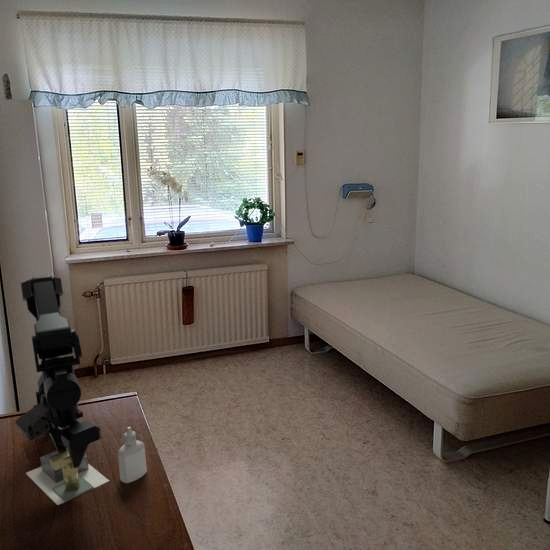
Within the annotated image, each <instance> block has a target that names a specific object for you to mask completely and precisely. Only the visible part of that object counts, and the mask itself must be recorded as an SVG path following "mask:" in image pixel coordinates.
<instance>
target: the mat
mask: <svg viewBox="0 0 550 550" xmlns="http://www.w3.org/2000/svg"><path fill="white" fill-rule="evenodd" d="M79 483H80V486H79V488H78V489H76V490H74V491H66V490H65V484H64V483H62V484H59V485H57V486H55V487H53V488H52V489H53V490H54V491H55V492H56V493H57V494H58V495H59V496H60V497H61V498H62V499H63V500H64V501H66V502H68V501H70V500H72V499H74V498H76V496H77V497H79V496H81V495H83V494H86V493H88V492H90V491H91V490H94V489H95V488H94V487H93V486H92V485H91V484H90V483H89V482H87V481H86V480H85V479H84V478H83V477H82V476H79ZM93 488H94V489H93ZM82 493H83V494H82ZM80 494H81V495H80ZM78 495H79V496H78Z"/></svg>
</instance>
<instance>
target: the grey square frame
mask: <svg viewBox="0 0 550 550" xmlns="http://www.w3.org/2000/svg"><path fill="white" fill-rule="evenodd" d="M67 450H68V448H67V449H66V451H67ZM56 455H59V454H58V451H57V450H55V451H52V452H50V453H48V454H44V455H42V456H41V457H39V459H40V467H41V468H42V471H43V472H44V473H46V474H47V475H48V476H49V477H50V478H51V479H52V480H53V481H54V482H55V483H58V482H60V481H62V480H64V478H63V471H62V468H60V469H58V470H56V471H55V470H54V469H53V468H52V467H51V464H50V458H52V457H54V456H56ZM88 464H89V461H88V455H86V457H84V458H83V459H82V462H81V464H80V466H79V467H77V470H78V473H81V472H83V471H85V470H87V469H89V467H88Z"/></svg>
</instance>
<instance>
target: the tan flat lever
mask: <svg viewBox="0 0 550 550" xmlns="http://www.w3.org/2000/svg"><path fill="white" fill-rule="evenodd" d="M86 456H87V453H86V451H85V454H84V457H86ZM84 457H83V458H84ZM50 464H51V467H52V468H53V469H54V470H55V471H56V470H58V469H60V468H62V471H63V478H64V484H65V490H66V491H74V490H76V489H78V488H79V486H80V483H79V476H78V470H77V468H74V467H73V464H72V462H71V458H70V455H69V451H68V450H67V451H65V452H63V453H61V454H59V455H56V456H54V457H52V458H50Z"/></svg>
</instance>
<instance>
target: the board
mask: <svg viewBox="0 0 550 550" xmlns="http://www.w3.org/2000/svg"><path fill="white" fill-rule="evenodd" d="M88 467H89V469H87V470H85V471H83V472H81V473H78V476H82V477H83V478H84V479H85V480H86V481H87V482H89V483H90V484H91V485H92V486H93V487H94V488H93V489H92V490H94V489H96V488H98V487H99V486H102V485H105V484H106V483H108V482H110V479H108V478H107V477H105V475H104V474H102V473H100V472H99V471H98V469H96V468H95V467H94V466H92V465H91V464H89V463H88ZM25 474H26V475H27V476H28V477H29V479H30V480H32V481H33V482H34V483H35V485H37V487H39V488H40V490H42V491H43V492H44V493H45V495H46V496H47V497H48V498H49V499H51V500H52V502H53V503H55V504H56V505H57V506H59V505H61V504H64V503H66V502H67V501H64V500H63V499H62V498H61V497H60V496H59V495H58V494H57V493H56V492H55V491H54V490H53V489H52V488H53V487H55V486H57V485H59V484H62V483H64V480H62V481H60V482H58V483H55V482H54V481H53V480H52V479H51V478H50V477H49V476H48V475H47V474H46V473H44V472H43V471H42V468H41V466H38V467H37V468H34V469H32V470H29V471H27V472H25ZM81 495H84V493H82V494H80V495H78V496H76V497H79V496H81ZM76 497H75V498H76Z"/></svg>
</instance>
